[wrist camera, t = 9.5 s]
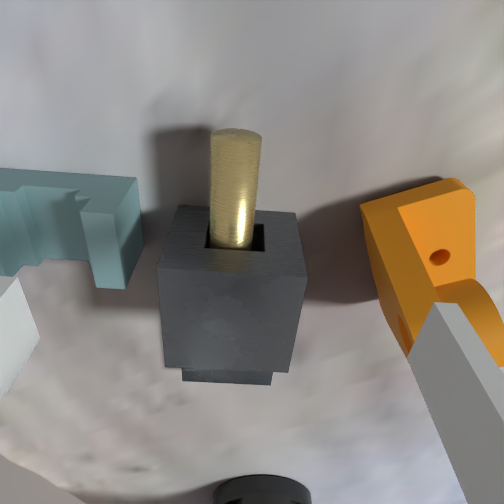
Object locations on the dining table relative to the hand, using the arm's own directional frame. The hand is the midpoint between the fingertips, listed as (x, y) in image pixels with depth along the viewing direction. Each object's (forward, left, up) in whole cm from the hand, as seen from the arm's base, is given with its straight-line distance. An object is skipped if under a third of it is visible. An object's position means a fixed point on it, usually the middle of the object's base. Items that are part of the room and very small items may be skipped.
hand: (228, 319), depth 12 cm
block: (-14, 0, -17) cm, 22 cm away
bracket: (-7, -14, -17) cm, 23 cm away
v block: (-6, +13, -17) cm, 22 cm away
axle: (-7, 0, -15) cm, 16 cm away
